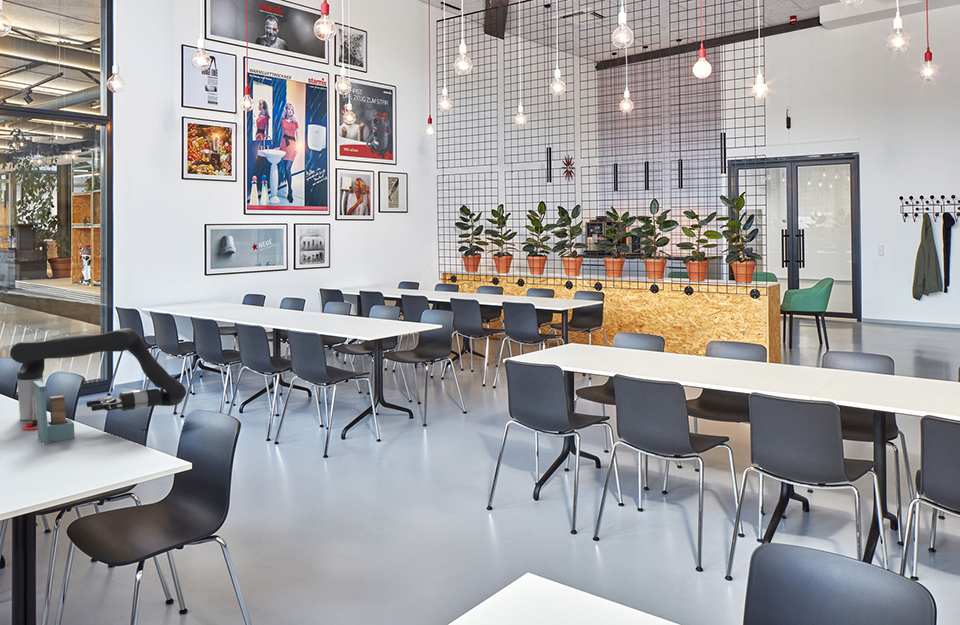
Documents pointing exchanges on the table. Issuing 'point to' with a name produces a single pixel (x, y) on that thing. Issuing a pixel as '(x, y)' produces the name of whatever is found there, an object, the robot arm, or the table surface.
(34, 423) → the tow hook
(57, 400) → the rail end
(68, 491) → the table surface
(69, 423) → the teal holder stand
